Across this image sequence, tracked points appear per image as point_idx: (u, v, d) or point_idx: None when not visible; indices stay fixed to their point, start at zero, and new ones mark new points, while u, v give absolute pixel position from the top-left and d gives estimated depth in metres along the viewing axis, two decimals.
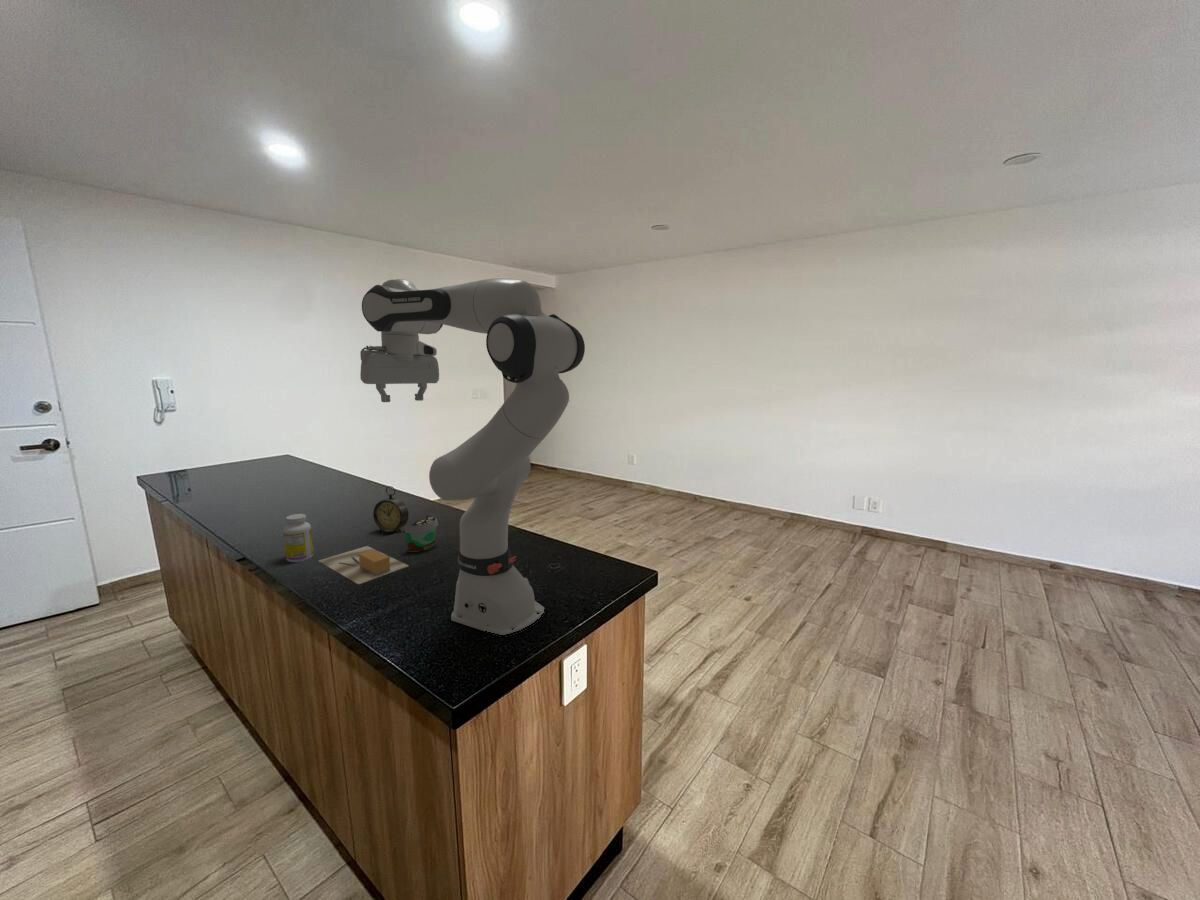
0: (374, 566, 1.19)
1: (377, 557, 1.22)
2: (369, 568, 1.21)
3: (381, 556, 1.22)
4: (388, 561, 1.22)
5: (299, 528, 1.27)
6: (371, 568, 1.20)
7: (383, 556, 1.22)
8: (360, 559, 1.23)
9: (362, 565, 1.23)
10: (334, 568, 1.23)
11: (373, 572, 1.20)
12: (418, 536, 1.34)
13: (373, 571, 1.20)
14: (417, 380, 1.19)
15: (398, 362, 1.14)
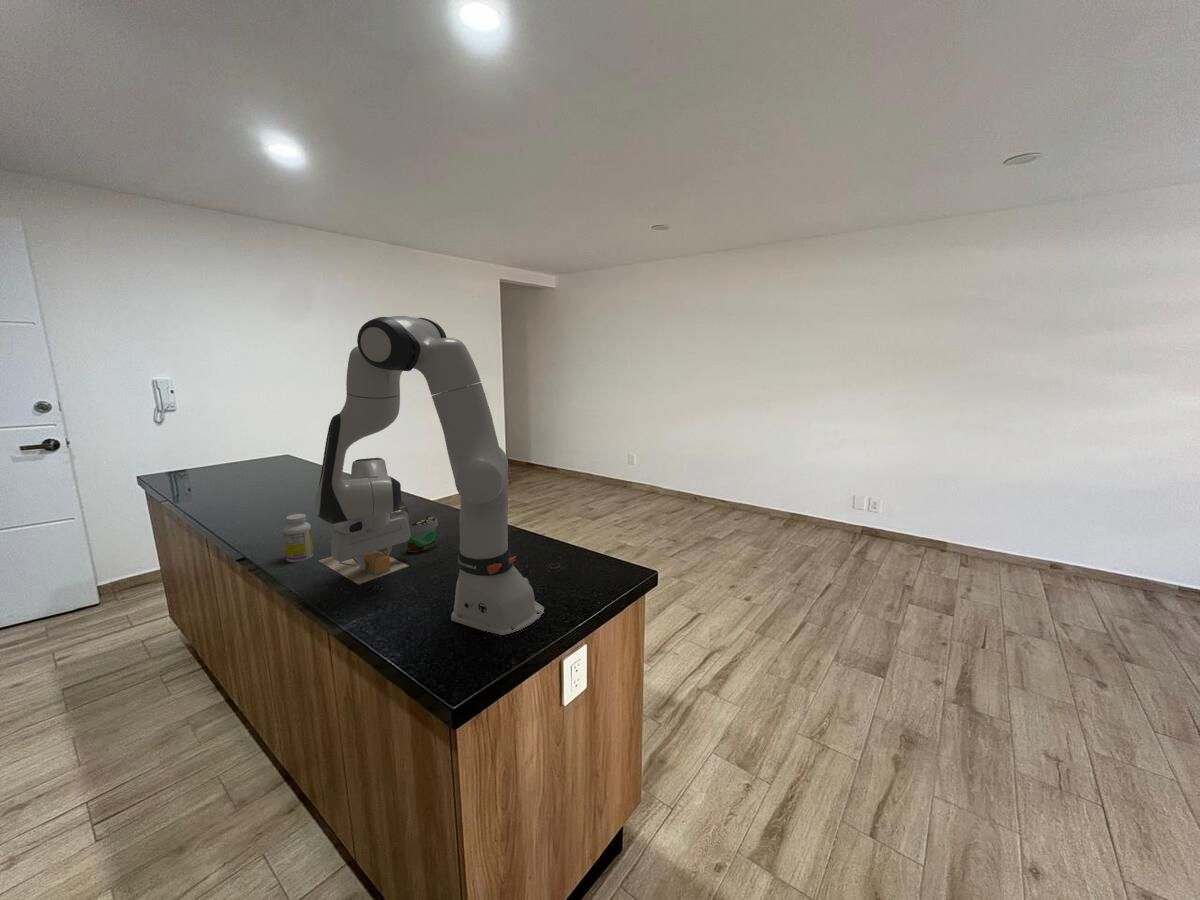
0: (374, 566, 1.19)
1: (377, 557, 1.22)
2: (369, 568, 1.21)
3: (381, 556, 1.22)
4: (388, 561, 1.22)
5: (299, 528, 1.27)
6: (371, 568, 1.20)
7: (383, 556, 1.22)
8: None
9: None
10: (334, 568, 1.23)
11: (373, 572, 1.20)
12: (418, 536, 1.34)
13: (373, 571, 1.20)
14: None
15: None
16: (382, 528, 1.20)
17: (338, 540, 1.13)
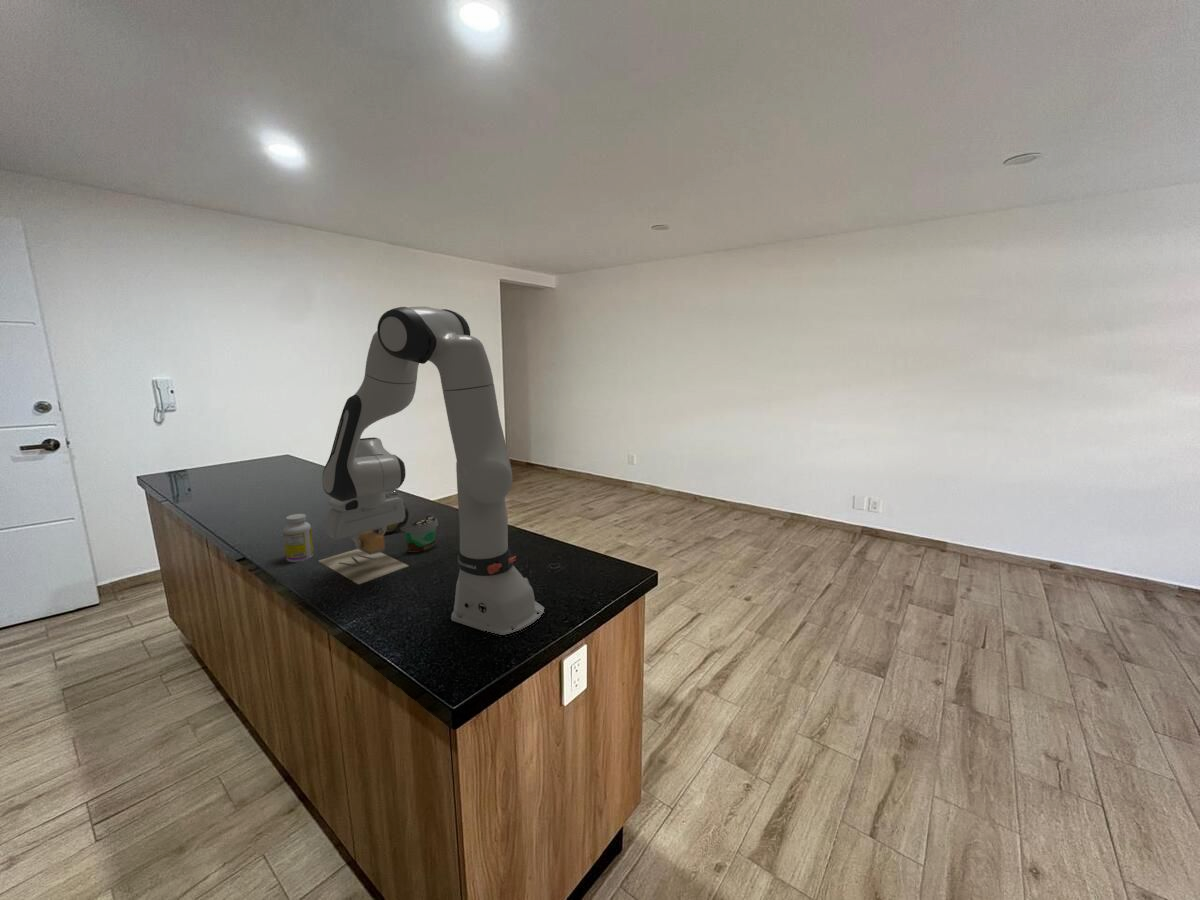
0: (369, 544, 1.20)
1: (372, 536, 1.23)
2: (364, 547, 1.22)
3: (376, 535, 1.23)
4: (383, 540, 1.23)
5: (299, 528, 1.27)
6: (366, 547, 1.21)
7: (378, 535, 1.24)
8: None
9: None
10: (334, 568, 1.23)
11: (368, 551, 1.21)
12: (418, 536, 1.34)
13: (368, 550, 1.21)
14: None
15: None
16: (377, 507, 1.22)
17: (334, 518, 1.14)
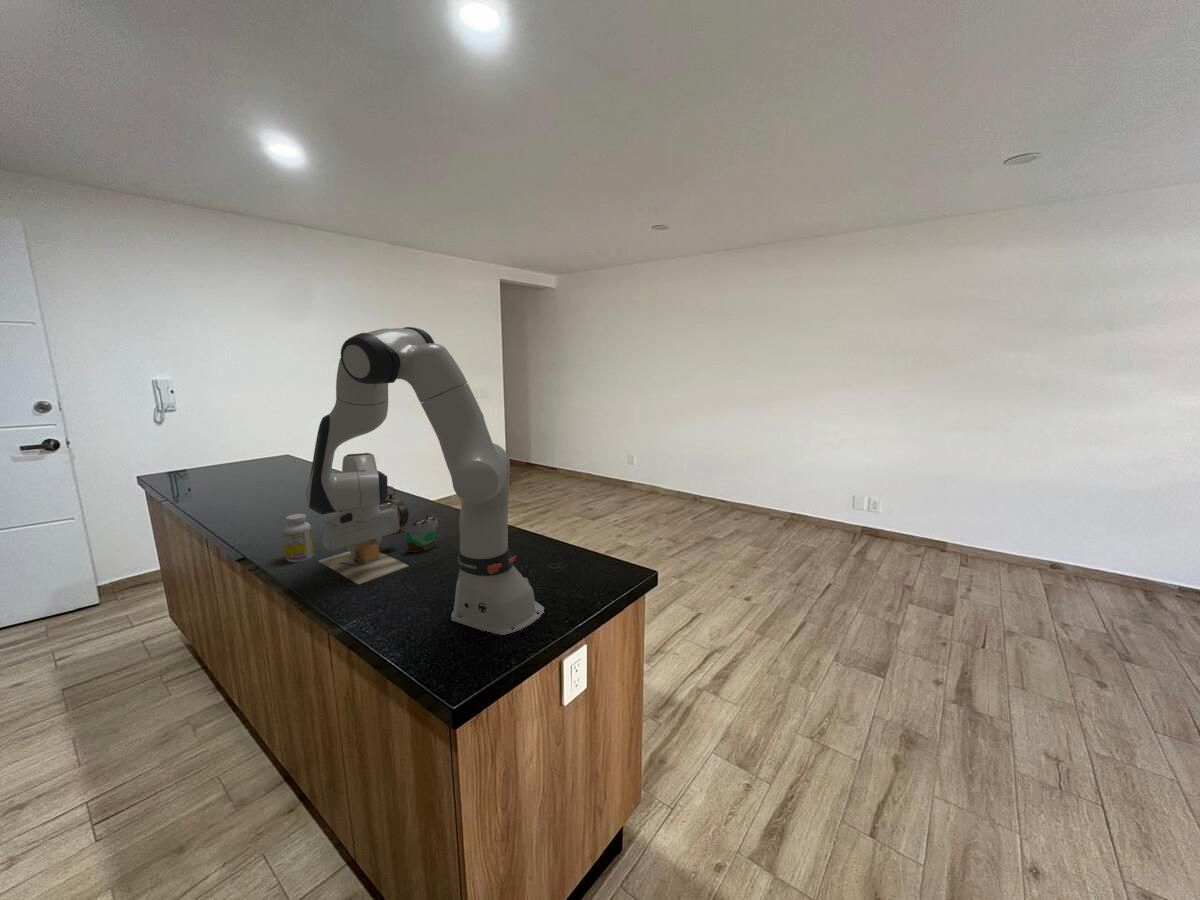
0: (364, 554, 1.26)
1: (367, 545, 1.28)
2: (359, 556, 1.27)
3: (371, 545, 1.29)
4: (377, 549, 1.28)
5: (299, 528, 1.27)
6: (361, 556, 1.27)
7: (372, 545, 1.29)
8: None
9: None
10: (334, 568, 1.23)
11: (363, 560, 1.26)
12: (418, 536, 1.34)
13: (363, 559, 1.26)
14: None
15: None
16: (372, 520, 1.27)
17: (329, 530, 1.19)
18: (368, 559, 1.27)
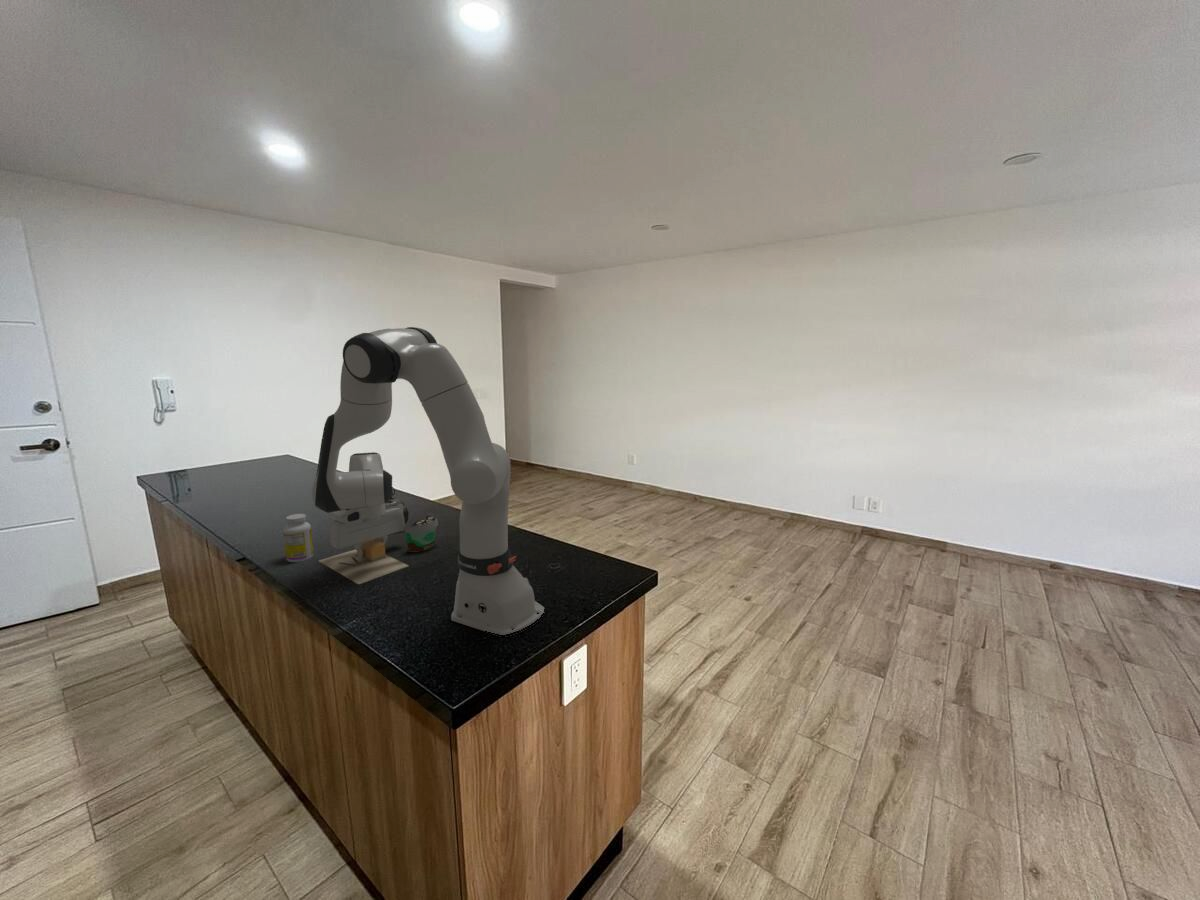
0: (370, 552, 1.27)
1: (373, 543, 1.30)
2: (366, 554, 1.29)
3: (377, 543, 1.30)
4: (383, 547, 1.30)
5: (299, 528, 1.27)
6: (368, 554, 1.28)
7: (379, 543, 1.30)
8: None
9: None
10: (334, 568, 1.23)
11: (369, 558, 1.28)
12: (418, 536, 1.34)
13: (369, 557, 1.28)
14: None
15: None
16: (378, 518, 1.28)
17: (336, 528, 1.21)
18: (375, 557, 1.28)
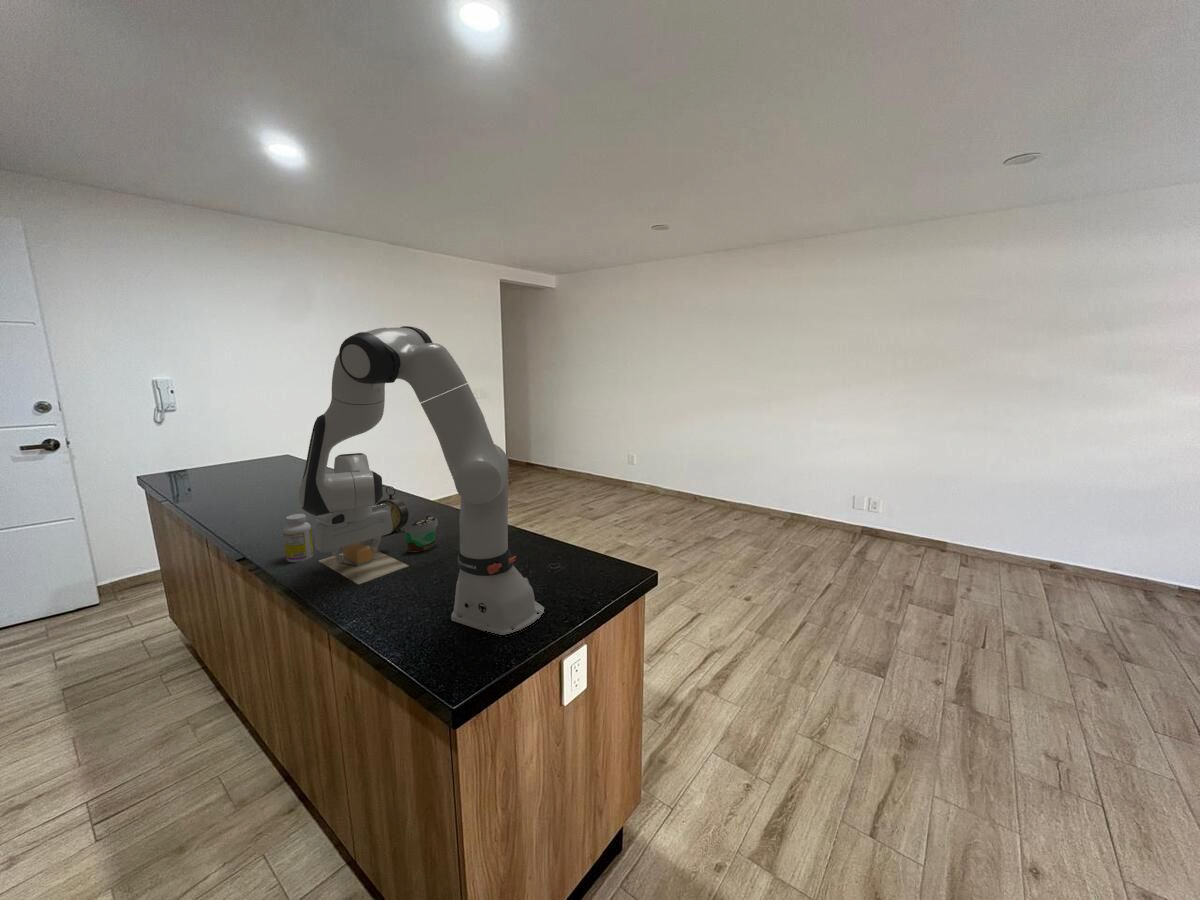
0: (356, 556, 1.24)
1: (360, 548, 1.27)
2: (352, 559, 1.26)
3: (363, 547, 1.27)
4: (370, 552, 1.27)
5: (299, 528, 1.27)
6: (354, 559, 1.25)
7: (365, 547, 1.27)
8: (343, 550, 1.28)
9: (345, 556, 1.28)
10: (334, 568, 1.23)
11: (355, 562, 1.25)
12: (418, 536, 1.34)
13: (355, 561, 1.25)
14: None
15: None
16: (364, 521, 1.25)
17: (321, 531, 1.18)
18: (361, 562, 1.25)
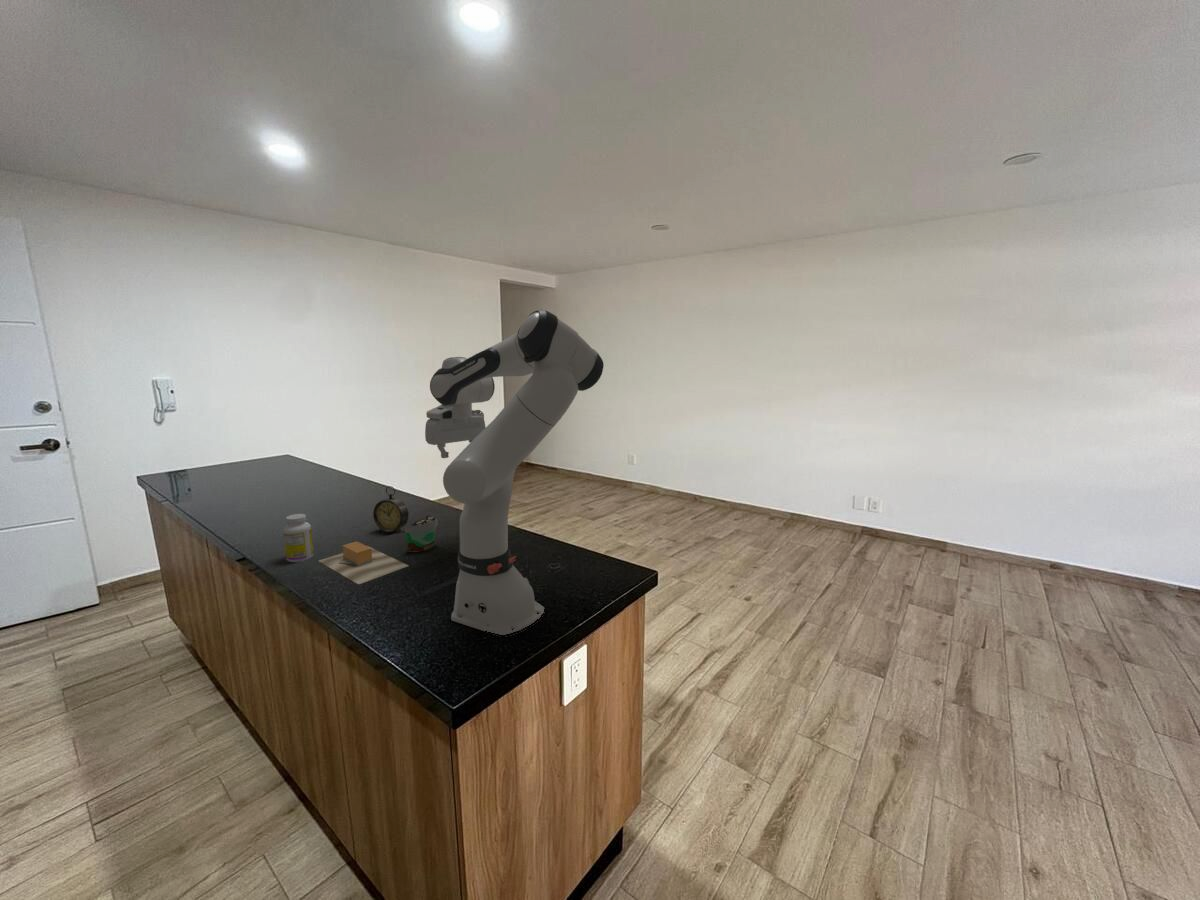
0: (356, 556, 1.24)
1: (360, 548, 1.27)
2: (352, 559, 1.26)
3: (363, 547, 1.27)
4: (370, 552, 1.27)
5: (299, 528, 1.27)
6: (354, 559, 1.25)
7: (365, 547, 1.27)
8: (343, 550, 1.28)
9: (345, 556, 1.28)
10: (334, 568, 1.23)
11: (355, 562, 1.25)
12: (418, 536, 1.34)
13: (355, 561, 1.25)
14: None
15: None
16: (466, 421, 1.38)
17: (432, 425, 1.30)
18: (361, 562, 1.25)
